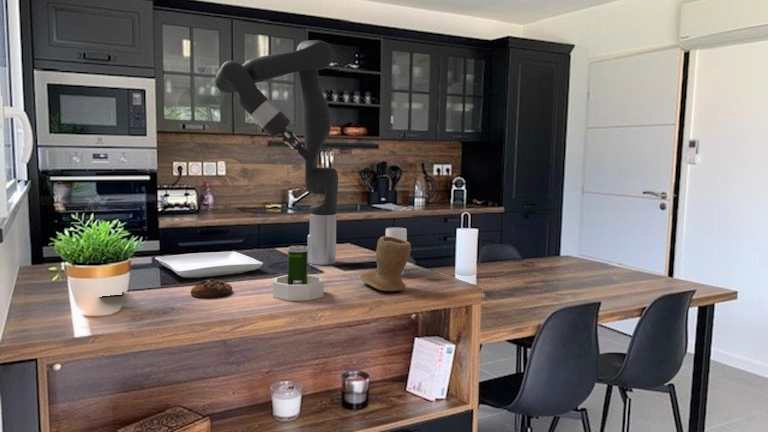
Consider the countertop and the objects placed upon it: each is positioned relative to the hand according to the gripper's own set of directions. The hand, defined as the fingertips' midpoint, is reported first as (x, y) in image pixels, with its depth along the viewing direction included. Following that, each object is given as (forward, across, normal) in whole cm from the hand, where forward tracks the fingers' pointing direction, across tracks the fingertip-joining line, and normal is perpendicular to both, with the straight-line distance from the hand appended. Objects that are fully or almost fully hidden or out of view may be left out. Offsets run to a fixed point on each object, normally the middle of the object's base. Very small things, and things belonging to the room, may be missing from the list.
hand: (309, 158), depth 173 cm
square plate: (+4, +15, +49) cm, 51 cm away
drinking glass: (+46, +2, +6) cm, 46 cm away
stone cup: (+42, -15, +11) cm, 46 cm away
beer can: (+23, -20, +28) cm, 41 cm away
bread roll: (+7, -18, +45) cm, 49 cm away
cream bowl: (+24, -20, +28) cm, 42 cm away
